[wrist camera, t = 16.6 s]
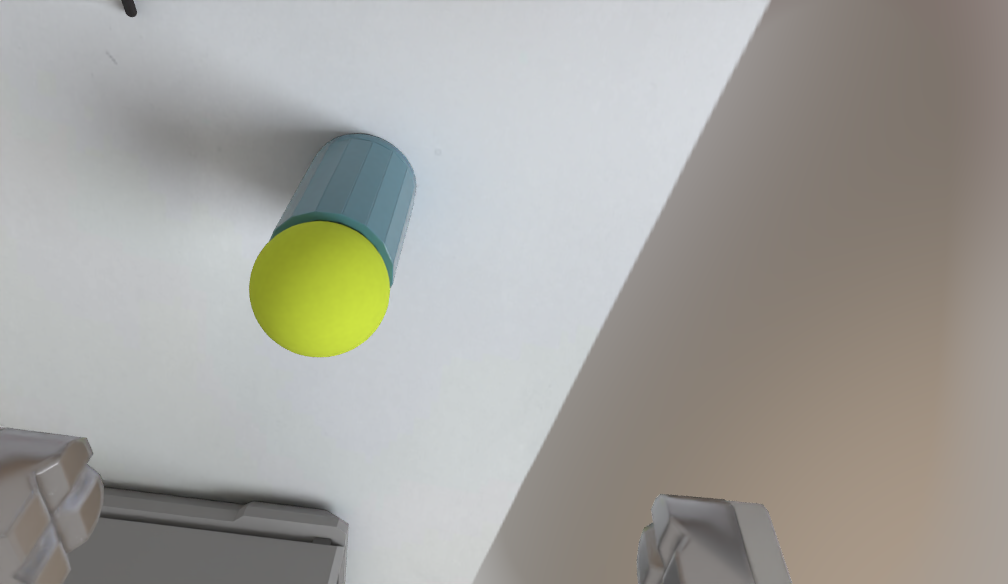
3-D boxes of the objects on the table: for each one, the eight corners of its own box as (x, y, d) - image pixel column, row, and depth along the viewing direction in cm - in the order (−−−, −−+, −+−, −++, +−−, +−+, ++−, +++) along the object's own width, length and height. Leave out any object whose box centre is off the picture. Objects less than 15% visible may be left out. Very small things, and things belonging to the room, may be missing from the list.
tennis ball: (400, 204, 34) (380, 280, 29) (396, 308, 38) (377, 392, 33) (266, 189, 34) (221, 264, 29) (275, 295, 38) (237, 378, 33)
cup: (418, 140, 41) (394, 220, 33) (413, 232, 44) (391, 322, 37) (309, 126, 40) (261, 204, 33) (314, 220, 44) (271, 309, 37)
